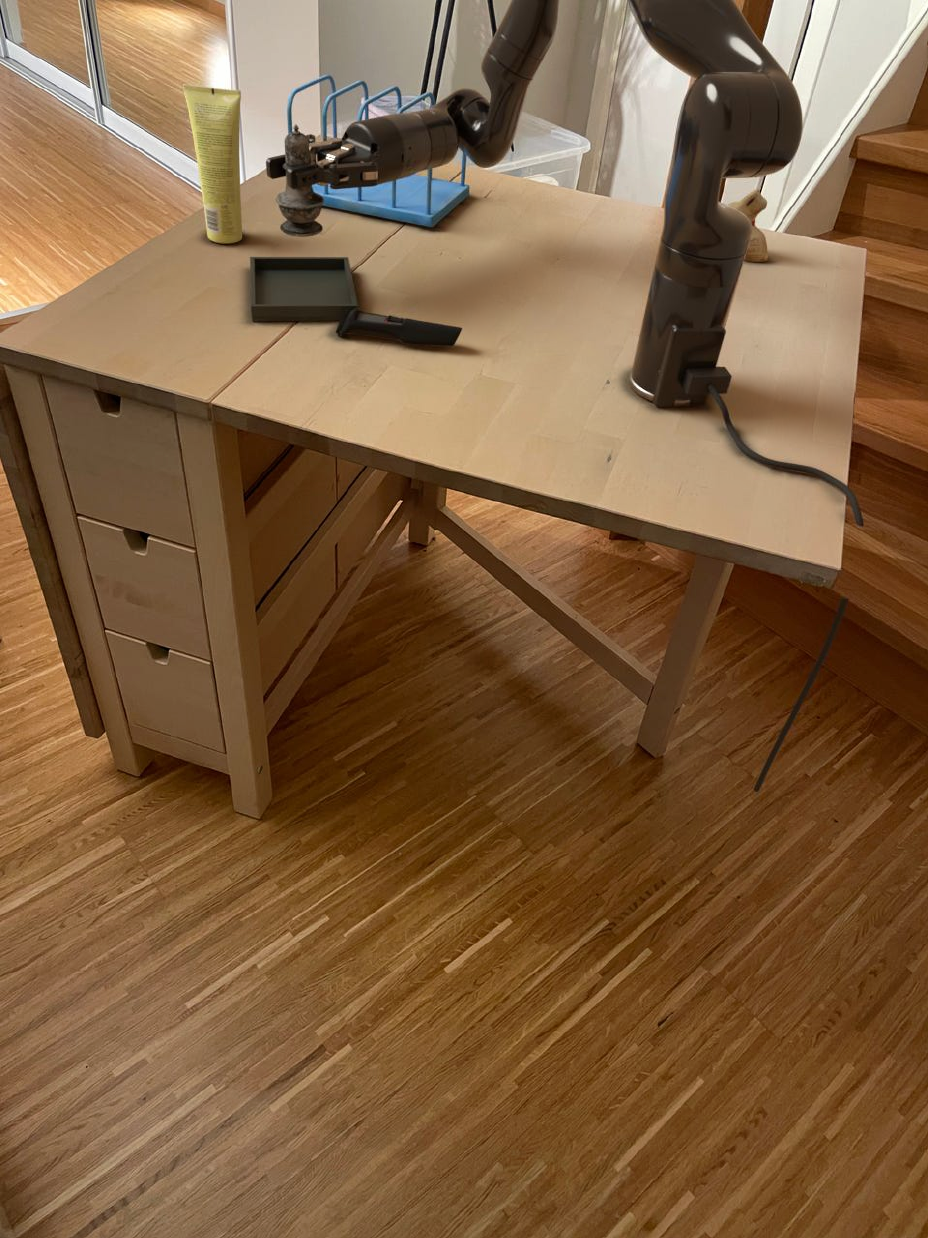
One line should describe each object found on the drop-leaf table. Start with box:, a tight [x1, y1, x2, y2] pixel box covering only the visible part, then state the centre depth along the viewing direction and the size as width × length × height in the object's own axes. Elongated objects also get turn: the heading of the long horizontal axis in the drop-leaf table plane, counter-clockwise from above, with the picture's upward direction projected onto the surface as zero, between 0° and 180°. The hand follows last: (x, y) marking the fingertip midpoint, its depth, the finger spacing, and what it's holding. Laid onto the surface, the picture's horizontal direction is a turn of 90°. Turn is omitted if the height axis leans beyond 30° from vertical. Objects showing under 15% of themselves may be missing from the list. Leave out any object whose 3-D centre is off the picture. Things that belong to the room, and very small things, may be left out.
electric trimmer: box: [335, 308, 463, 347], centre depth 113 cm, size 4×16×3 cm, turn 80°
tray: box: [249, 256, 359, 322], centre depth 120 cm, size 15×13×2 cm
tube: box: [182, 83, 243, 244], centre depth 126 cm, size 6×5×20 cm
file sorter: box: [285, 74, 470, 228], centre depth 144 cm, size 25×17×15 cm
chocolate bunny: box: [727, 188, 770, 263], centre depth 140 cm, size 6×8×10 cm
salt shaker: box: [275, 123, 324, 238], centre depth 111 cm, size 6×6×12 cm
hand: (279, 174), depth 109 cm, fingers closed on salt shaker, 3 cm apart
